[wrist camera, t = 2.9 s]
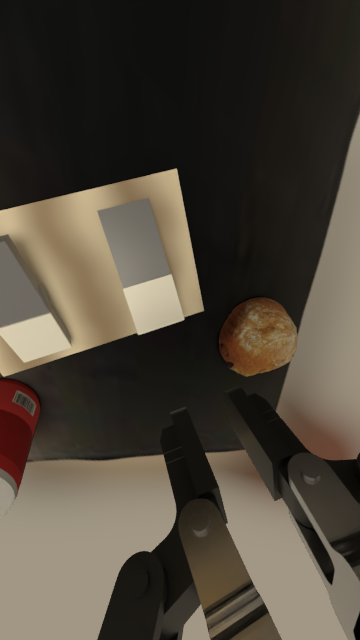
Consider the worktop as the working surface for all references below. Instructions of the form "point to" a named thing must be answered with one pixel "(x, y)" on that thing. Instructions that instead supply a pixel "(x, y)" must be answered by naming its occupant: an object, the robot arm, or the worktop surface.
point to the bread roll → (257, 337)
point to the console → (95, 259)
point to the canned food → (15, 437)
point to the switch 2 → (141, 265)
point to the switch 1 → (27, 309)
